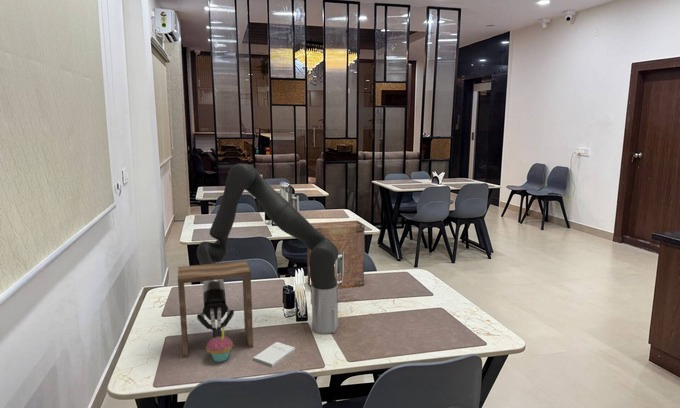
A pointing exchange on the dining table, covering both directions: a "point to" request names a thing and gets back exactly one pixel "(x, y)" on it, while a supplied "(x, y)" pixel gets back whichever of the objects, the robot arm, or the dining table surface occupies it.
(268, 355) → the external hard drive
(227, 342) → the cupcake
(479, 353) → the dining table surface
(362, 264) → the book
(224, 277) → the wooden arch
